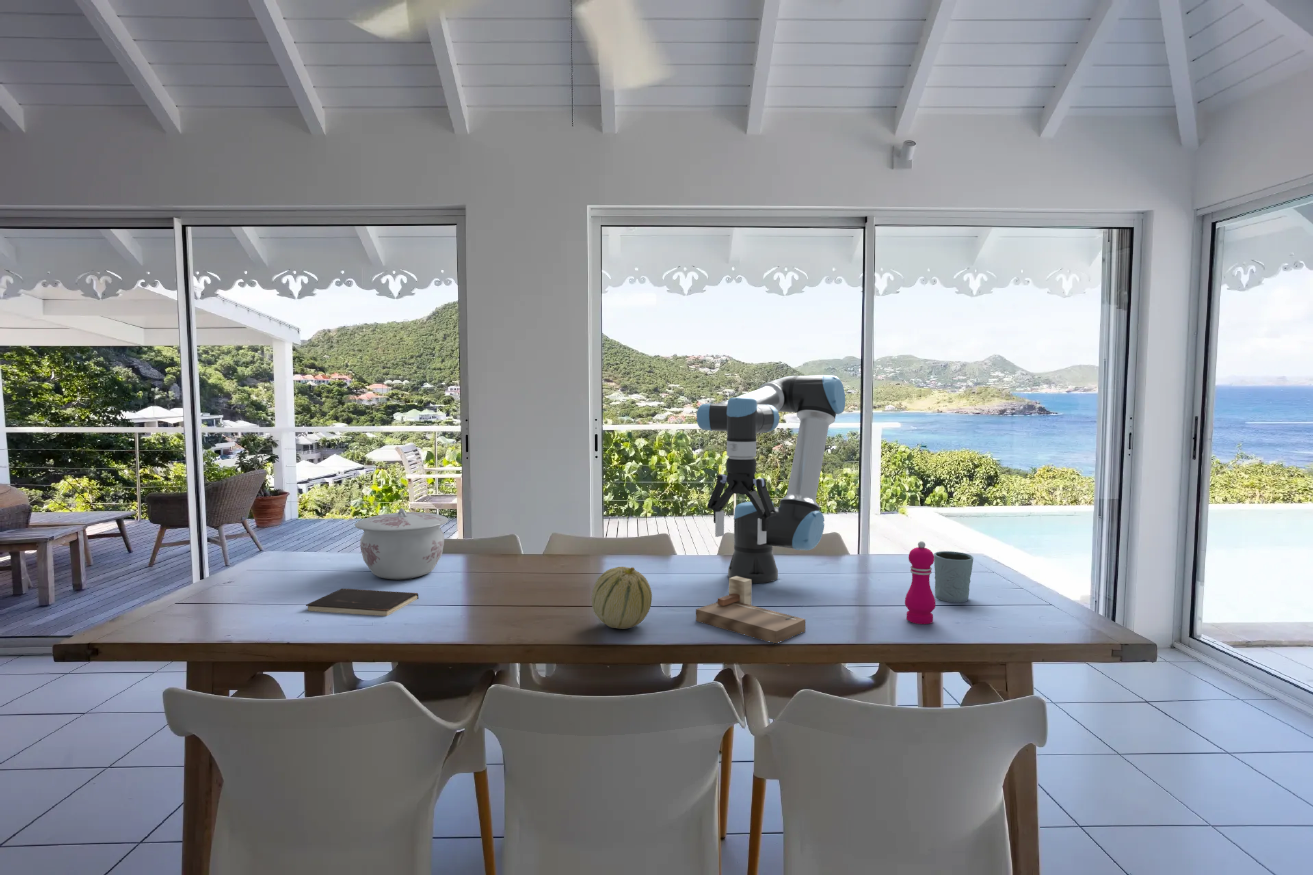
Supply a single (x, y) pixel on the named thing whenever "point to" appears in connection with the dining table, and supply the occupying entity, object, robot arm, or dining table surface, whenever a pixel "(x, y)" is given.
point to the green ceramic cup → (952, 575)
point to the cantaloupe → (621, 597)
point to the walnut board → (751, 621)
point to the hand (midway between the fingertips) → (740, 539)
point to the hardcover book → (362, 602)
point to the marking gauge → (737, 591)
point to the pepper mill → (920, 586)
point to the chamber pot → (402, 543)
